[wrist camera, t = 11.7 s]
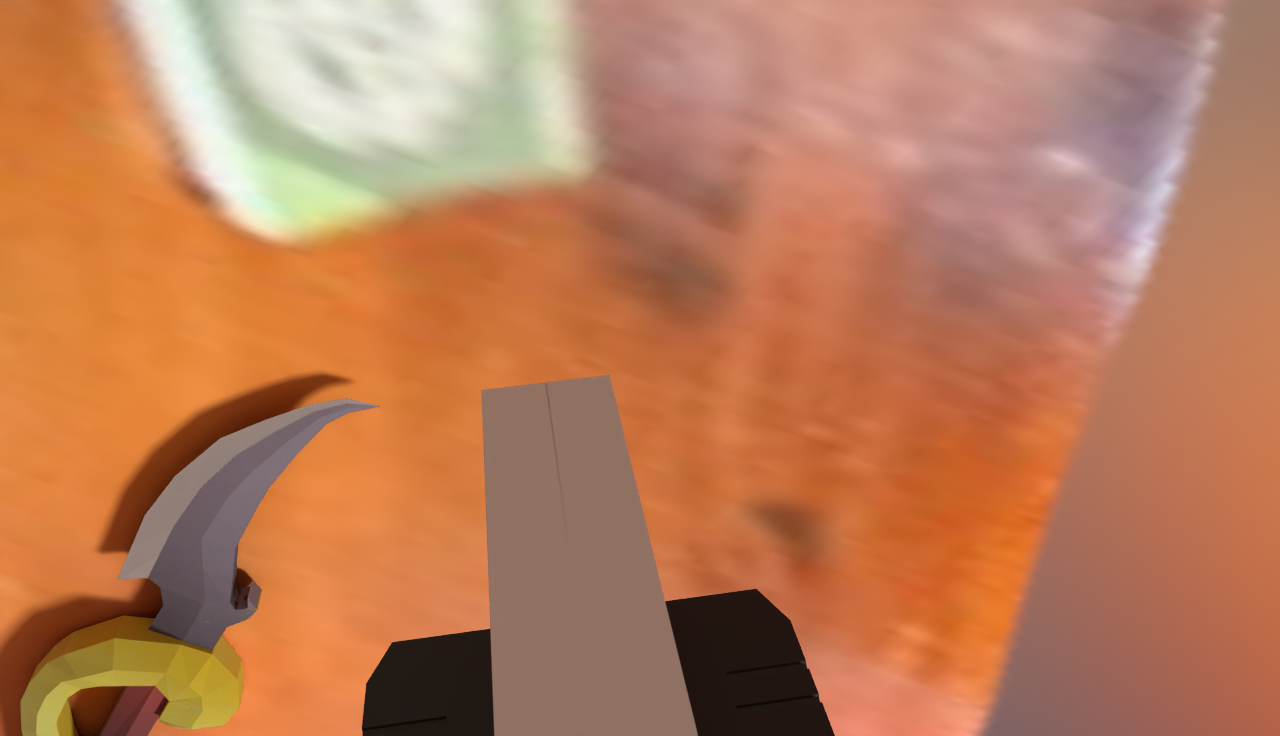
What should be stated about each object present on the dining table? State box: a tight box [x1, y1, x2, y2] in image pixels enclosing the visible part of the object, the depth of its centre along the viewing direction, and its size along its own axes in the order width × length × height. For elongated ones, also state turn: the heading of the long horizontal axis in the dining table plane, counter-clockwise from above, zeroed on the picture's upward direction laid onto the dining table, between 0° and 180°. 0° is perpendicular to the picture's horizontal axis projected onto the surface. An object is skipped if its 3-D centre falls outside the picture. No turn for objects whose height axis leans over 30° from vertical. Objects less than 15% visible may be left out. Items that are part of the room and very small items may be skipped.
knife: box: [20, 398, 380, 736], centre depth 47 cm, size 8×3×25 cm
